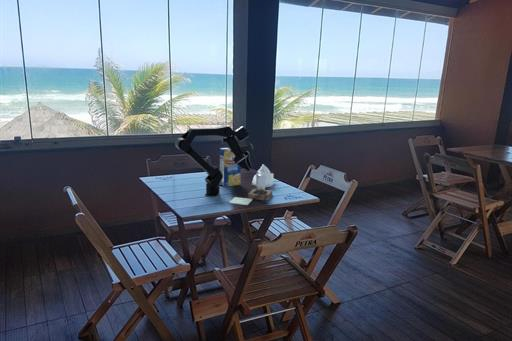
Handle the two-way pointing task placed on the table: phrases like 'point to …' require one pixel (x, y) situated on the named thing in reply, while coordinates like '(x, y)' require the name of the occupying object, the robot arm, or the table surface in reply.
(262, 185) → the steel tube
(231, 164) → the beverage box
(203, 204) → the table surface
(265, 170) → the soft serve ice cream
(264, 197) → the walnut stand
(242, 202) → the sage mat
